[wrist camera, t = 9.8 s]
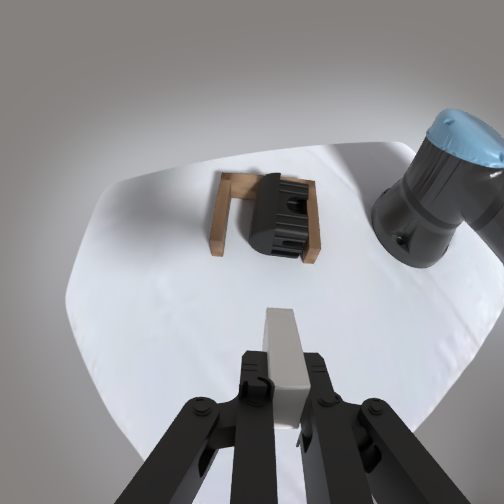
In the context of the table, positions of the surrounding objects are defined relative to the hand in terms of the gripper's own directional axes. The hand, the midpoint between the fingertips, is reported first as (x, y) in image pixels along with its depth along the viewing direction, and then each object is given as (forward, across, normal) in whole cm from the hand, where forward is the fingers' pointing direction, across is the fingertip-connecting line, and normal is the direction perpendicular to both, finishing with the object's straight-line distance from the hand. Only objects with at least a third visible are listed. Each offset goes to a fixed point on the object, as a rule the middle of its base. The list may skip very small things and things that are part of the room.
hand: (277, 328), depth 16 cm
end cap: (+26, +2, +1) cm, 26 cm away
